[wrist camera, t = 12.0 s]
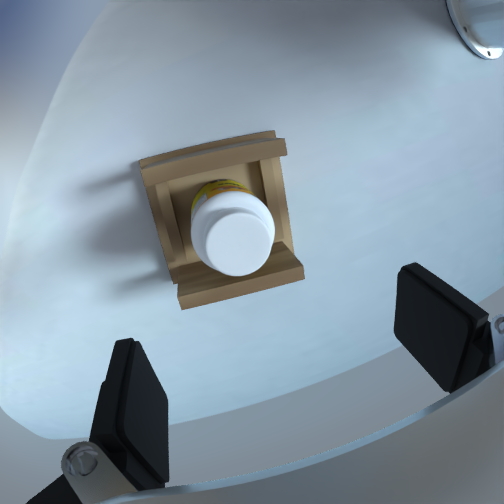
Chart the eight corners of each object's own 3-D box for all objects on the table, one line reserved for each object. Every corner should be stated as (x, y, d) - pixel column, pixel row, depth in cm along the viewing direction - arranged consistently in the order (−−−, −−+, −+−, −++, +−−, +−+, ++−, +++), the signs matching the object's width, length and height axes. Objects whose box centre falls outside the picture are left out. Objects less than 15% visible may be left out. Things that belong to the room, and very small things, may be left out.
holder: (140, 159, 26) (125, 167, 19) (271, 130, 27) (296, 129, 21) (173, 279, 30) (171, 318, 24) (291, 250, 32) (316, 281, 25)
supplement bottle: (265, 197, 28) (303, 230, 19) (232, 248, 29) (253, 303, 20) (212, 165, 26) (223, 180, 17) (179, 219, 27) (173, 263, 18)
